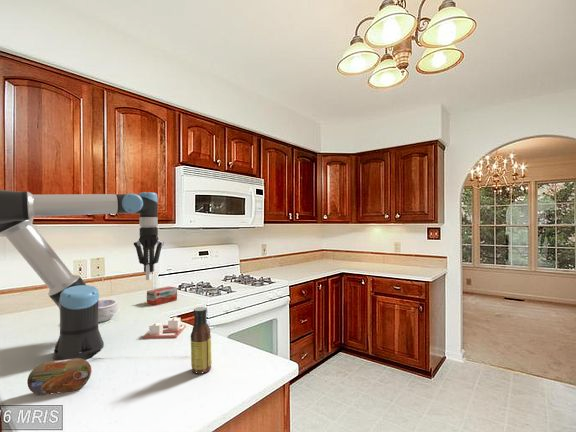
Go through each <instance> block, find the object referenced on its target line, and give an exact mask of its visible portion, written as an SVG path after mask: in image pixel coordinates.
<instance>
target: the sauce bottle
mask: <svg viewBox="0 0 576 432" xmlns="http://www.w3.org/2000/svg"><path fill="white" fill-rule="evenodd" d="M207 311H208V309H207V307H205V306H204V307H203V306H200V307H196V308H193V318H194V319H193V326H192V329H191V330H192V331H191V333H190V359H191V361H190V363H191V364H190V365H191V370H192V373H194V372H197V373H202V372H206V373H208V372H210V371H211V370H212V336H211V328H210V326H209V324H208V323H207V322H208V321H207ZM209 370H210V371H209ZM207 371H208V372H207Z"/></svg>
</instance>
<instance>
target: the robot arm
mask: <svg viewBox="0 0 576 432" xmlns="http://www.w3.org/2000/svg"><path fill="white" fill-rule="evenodd" d="M158 204H159V201H158V194H157V193H156V192H150V191H149V192H148V191H147V192H146V191H142V192H139V194H137V193H123V194H122V193H117V194H116V193H115V194H114V193H108V194H106V193H102V194H100V193H91V194H89V193H88V194H87V193H86V194H83V193H81V194H78V193H77V194H76V193H75V194H74V193H73V194H70V193H68V194H64V193H62V194H55V193H54V194H52V193H51V194H32V193H31V192H30V191H21V190H19V191H15V190H6V189H0V236H2V237H5V238H7V240H8V241H9V242H10V243H11V244H12V246H13V247H14V248H15V249H16V250H17V252H18V254H20V255H21V256H22V257H23V259H24V260H25V262H26V263H27V264H28V265H29V266H30V267H31V268H32V270H33V271H34V272H35V273H36V274H37V276H38V277H39V278H40V279H41V281H42V282H43V283H44V284H45V285H46V287H47V288H48V294H47V295H48V297H50V299H51V300H52V301H53V302H54V304H55V305H56V306H57V307H58V309H59V337H58V339H57V342H56V345H55V347H54V350H53V357H52V358H53V361H59V360H67V359H75V358H81V359H84V360H88V359H91V358H93V357H95V356H96V355H97V354H98V353H99V352H101V351H102V349H103V348H104V345H105V344H104V340H103V337H102V335H101V332H100V330H99V322H98V301H99V300H100V294H99V290H98V288H97V287H96V286H93V285H90V284H89V285H88V284H86V283H85V281H84V279H82V278H81V276H80V275H78V274H77V275H76V274H73V273H72V271H71V270H70V269H69V268H68V266H66V264H65V263H64V262H63V261H62V259H61V258H60V257H59V256H58V254H57V253H56V252H55V250H54V249H53V248H52V246H50V244H49V243H48V242H47V240H46V239H45V238H44V237H43V235H42V234H41V233H40V232H39V230H38V229H37V227H36V226H35V225H34V224H33V223H34V218H36V217H60V216H61V217H62V216H63V217H65V216H86V215H87V216H88V215H89V216H90V215H108V214H109V215H110V214H112V215H114V214H117V215H119V214H126V215H127V214H138V215H139V225H138V226H139V238H138V240H137V241H135V242H133V246H134V247H135V250H136V253H137V258H138V262H139V264H141V265H143V273H145V281H150V280H152V279H153V272H154V271H155V269H154V268H155V264H157V263H159V260H160V256H161V250H162V247H163V246H164V243H165V242H164V241H161V240H160V239H159V237H158V235H159V233H158V231H159V230H158V221H159V220H158V219H159V217H158V214H159V213H158V211H159V209H158V207H159V205H158ZM155 246H156V247H155ZM155 248H156V249H155Z"/></svg>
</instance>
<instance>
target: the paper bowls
mask: <svg viewBox="0 0 576 432" xmlns="http://www.w3.org/2000/svg"><path fill="white" fill-rule="evenodd" d="M118 305H119V304H118V301H117V300H115V299H99V300H98V323H103V322H106V321H109V320H112V318H113V316H114V315H115V314H116V313H118V307H119V306H118Z"/></svg>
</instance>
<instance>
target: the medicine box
mask: <svg viewBox="0 0 576 432" xmlns="http://www.w3.org/2000/svg"><path fill="white" fill-rule="evenodd" d="M177 300H178V287H177V286H169V285H168V286H162V287H159V288H154V289H153V288H152V289H148V290H147V291H146V304H147V305H150V306H154V307H157V306H160V305H163V304H168V303H172V302H176V301H177Z"/></svg>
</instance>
